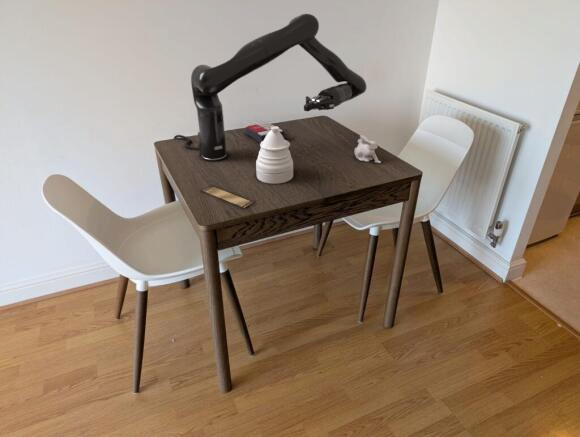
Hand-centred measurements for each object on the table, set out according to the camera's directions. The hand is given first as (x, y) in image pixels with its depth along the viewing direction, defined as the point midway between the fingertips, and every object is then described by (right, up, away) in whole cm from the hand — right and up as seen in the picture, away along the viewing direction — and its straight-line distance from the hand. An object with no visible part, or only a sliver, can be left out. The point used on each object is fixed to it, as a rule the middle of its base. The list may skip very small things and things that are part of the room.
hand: (305, 108), depth 151 cm
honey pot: (-11, -24, -2) cm, 27 cm away
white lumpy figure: (+22, -17, +10) cm, 30 cm away
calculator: (-16, -5, +30) cm, 35 cm away
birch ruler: (-25, -32, -16) cm, 44 cm away
